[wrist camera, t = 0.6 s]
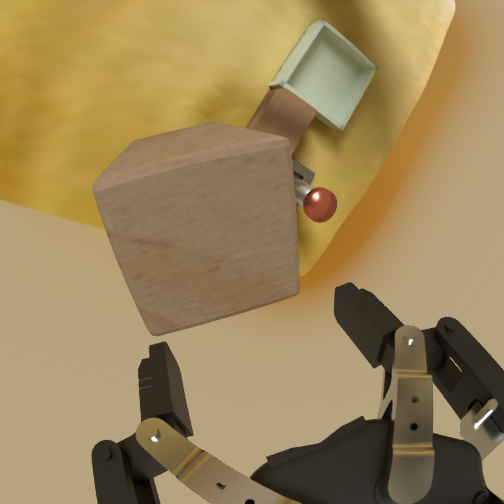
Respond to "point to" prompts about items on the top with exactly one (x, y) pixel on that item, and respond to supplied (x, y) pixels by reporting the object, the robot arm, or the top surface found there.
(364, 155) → the top surface
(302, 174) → the pin socket
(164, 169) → the wooden block
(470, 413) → the robot arm
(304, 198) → the pin
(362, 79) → the tray
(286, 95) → the block
